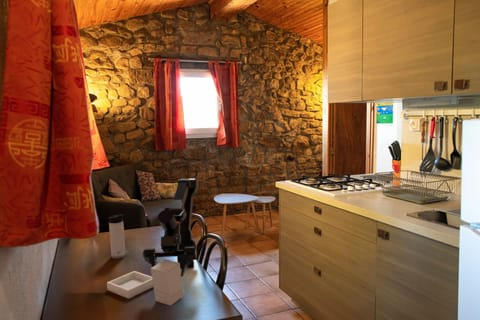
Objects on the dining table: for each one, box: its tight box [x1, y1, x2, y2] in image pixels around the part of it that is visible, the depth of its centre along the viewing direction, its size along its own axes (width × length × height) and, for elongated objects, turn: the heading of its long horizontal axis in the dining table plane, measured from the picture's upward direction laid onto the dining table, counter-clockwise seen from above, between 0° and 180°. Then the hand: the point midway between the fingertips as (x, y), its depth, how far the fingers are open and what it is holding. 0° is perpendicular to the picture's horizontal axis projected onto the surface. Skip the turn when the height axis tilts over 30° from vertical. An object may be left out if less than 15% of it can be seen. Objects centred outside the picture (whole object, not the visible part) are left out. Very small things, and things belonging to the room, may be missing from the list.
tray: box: [106, 270, 154, 299], centre depth 143 cm, size 13×13×3 cm
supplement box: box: [150, 259, 185, 306], centre depth 131 cm, size 7×7×13 cm
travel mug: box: [108, 213, 126, 260], centre depth 176 cm, size 6×7×20 cm
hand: (168, 277), depth 131 cm, fingers open, 9 cm apart
